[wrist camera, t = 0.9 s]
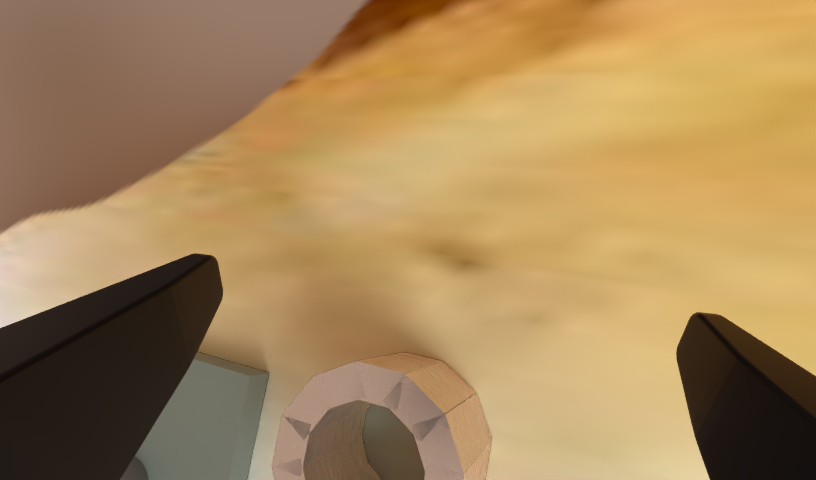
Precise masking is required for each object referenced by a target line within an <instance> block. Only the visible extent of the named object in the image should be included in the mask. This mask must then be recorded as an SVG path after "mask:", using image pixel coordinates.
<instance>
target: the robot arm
mask: <svg viewBox="0 0 816 480" xmlns="http://www.w3.org/2000/svg"><path fill="white" fill-rule="evenodd" d="M222 297H223V287H222V282H221V277H220V271H219V266H218V262H217V260H216V258H215V257H214V256H212V255H204V254H191V255H188V256H186V257H183V258H181V259H178V260H175V261H173V262H170V263H168V264H165V265H162V266H160V267H157V268H155V269H152V270H150V271H147V272H144V273H142V274H139V275H137V276H134V277H131V278H129V279H126V280H124V281H121V282H119V283H116V284H113V285H111V286H108V287H106V288H103V289H101V290H98V291H95V292H93V293H90V294H88V295H85V296H82V297H80V298H77V299H75V300H72V301H70V302H67V303H64V304H62V305H59V306H57V307H54V308H51V309H49V310H46V311H44V312H41V313H39V314H36V315H33V316H31V317H28V318H26V319H23V320H20V321H18V322H15V323H13V324H10V325H8V326H5V327H2V328H0V480H120V479H121V478H122V476H123V474H124V473H125V471H126V470H127V468H128V466H129V465H130V463H131V461H132V460H133V458H134V457H135V455H136V453H137V452H138V450H139V448H140V447H141V445H142V444H143V442H144V440H145V439H146V437H147V436H148V434H149V432H150V431H151V429H152V427H153V426H154V424H155V423H156V421H157V419H158V418H159V416H160V414H161V413H162V411H163V410H164V408H165V406H166V405H167V403H168V401H169V400H170V398H171V397H172V395H173V393H174V392H175V390H176V388H177V387H178V385H179V384H180V382H181V380H182V379H183V377H184V375H185V374H186V372H187V370H188V369H189V367H190V365H191V363H192V361H193V359H194V358H195V356H196V354H197V351H198V349H199V347H200V345H201V343H202V341H203V339H204V337H205V335H206V332H207V330H208V328H209V326H210V324H211V322H212V320H213V318H214V316H215V314H216V311H217V309H218V307H219V305H220V303H221V300H222ZM676 356H677V363H678V367H679V371H680V376H681V380H682V384H683V389H684V393H685V397H686V402H687V406H688V410H689V415H690V419H691V423H692V427H693V431H694V434H695V438H696V441H697V444H698V447H699V450H700V453H701V456H702V458H703V461H704V464H705V467H706V470H707V472H708V475H709V478H710V480H816V376H814V375H813V374H811V373H810V372H808V371H807V370H805V369H804V368H802V367H800V366H799V365H797V364H796V363H794V362H793V361H791V360H790V359H788V358H787V357H785V356H783V355H782V354H780V353H779V352H777V351H776V350H774V349H773V348H771V347H769V346H768V345H766V344H765V343H763V342H762V341H760V340H759V339H757V338H756V337H754V336H752V335H751V334H749V333H748V332H746V331H745V330H743V329H742V328H740V327H738V326H737V325H735V324H734V323H732V322H731V321H729V320H728V319H726V318H724V317H723V316H721V315H718V314H709V313H700V312H697V313H695V314H693V315H692V316H691V317H690V319H689V321H688V323H687V326H686V328H685V330H684V333H683V335H682V337H681V340H680V342H679V344H678V347H677V353H676Z"/></svg>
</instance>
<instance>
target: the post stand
mask: <svg viewBox="0 0 816 480" xmlns="http://www.w3.org/2000/svg"><path fill="white" fill-rule="evenodd" d="M268 376H269V373H268V372H265V371H262V370H258V369H255V368H251V367H248V366H244V365H241V364H237V363H234V362H230V361H227V360H224V359H220V358H217V357H213V356H210V355H206V354H203V353H199V352H197V354H196V356H195V358H194V359H193V361H192V363H191V365H190V367H189V369H188V370H187V372H186V374H185V375H184V377H183V379H182V380H181V382H180V384H179V385H178V387H177V388H176V390H175V392H174V393H173V395H172V397H171V398H170V400H169V401H168V403H167V405H166V406H165V408H164V410H163V411H162V413H161V414H160V416H159V418H158V419H157V421H156V423H155V424H154V426H153V427H152V429H151V431H150V432H149V434H148V436H147V437H146V439H145V440H144V442H143V444H142V445H141V447H140V448H139V450H138V452H137V453H136V455H135V457H134V458H133V460H132V461H131V463H130V465H129V466H128V468H127V470H126V471H125V473H124V474H123V476H122V478H121V479H120V480H247V477H248V472H249V468H250V463H251V458H252V453H253V448H254V444H255V439H256V434H257V429H258V424H259V419H260V415H261V410H262V405H263V400H264V395H265V390H266V386H267V381H268Z"/></svg>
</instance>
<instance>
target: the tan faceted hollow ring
mask: <svg viewBox="0 0 816 480" xmlns="http://www.w3.org/2000/svg"><path fill="white" fill-rule="evenodd" d="M371 404H376V405H379V406H383V407H386V408H389V409H390V410H391V411H392V412H393V413H394V414H395V415H396V416H397V417H398V419H399V420H400V421H401V422H402V423H403V424H404V425H405V426H406V427H407V428H408V429H409V430H410V431H411V432H412V433H413V434H414V437H415V440H416V444H417V447H418V450H419V454H420V457H421V460H422V464H423V467H424V470H425V476H424V480H485V479H486V473H487V466H488V460H489V454H490V448H491V441H492V437H491V434H490V431H489V428H488V425H487V422H486V419H485V416H484V413H483V410H482V408H481V405H480V402H479V399H478V396H477V393H476V392H475V391H474V390H473V389H472V388H471V387H470V386H469V385H468V384H467V383H466V382H465V381H464V380H463V379H462V378H460V377H459V376H458V375H457V374H456V373H455V372H454V371H453V370H452V369H451V368H450V367H449V366H448V365H447V364H446V363H445V362H443V361H439V360H435V359H431V358H427V357H423V356H418V355H414V354H410V353H406V352H403V353H397V354H392V355H386V356H381V357H376V358H370V359H365V360H359V361H355V362H352V363H349V364H346V365H344V366H341V367H338V368H335V369H332V370H330V371H327V372H324V373H321V374H318V375H315V376H313V377H312V378H311V379H310V380H309V381H308V383H307V384H306V385H305V387H304V388H303V389H302V390H301V392H300V393H299V394H298V395H297V397H296V398H295V399H294V400H293V402H292V403H291V404H290V405H289V407H288V408H287V409H286V410H285V412H284V413H283V415H282V418H281V423H280V428H279V433H278V438H277V443H276V448H275V453H274V458H273V463H272V466H273V467H272V470H273V475H274V479H275V480H383V479H382V478H381V477H380V476H379V475H378V474H377V473H376V471H375V470H374V469H373V468H372V467H371V466H370V464H369V462H368V458H367V455H366V451H365V447H364V444H363V440H362V432H363V426H364V421H365V415H366V410H367V409H368V407H369V406H370V405H371Z"/></svg>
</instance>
